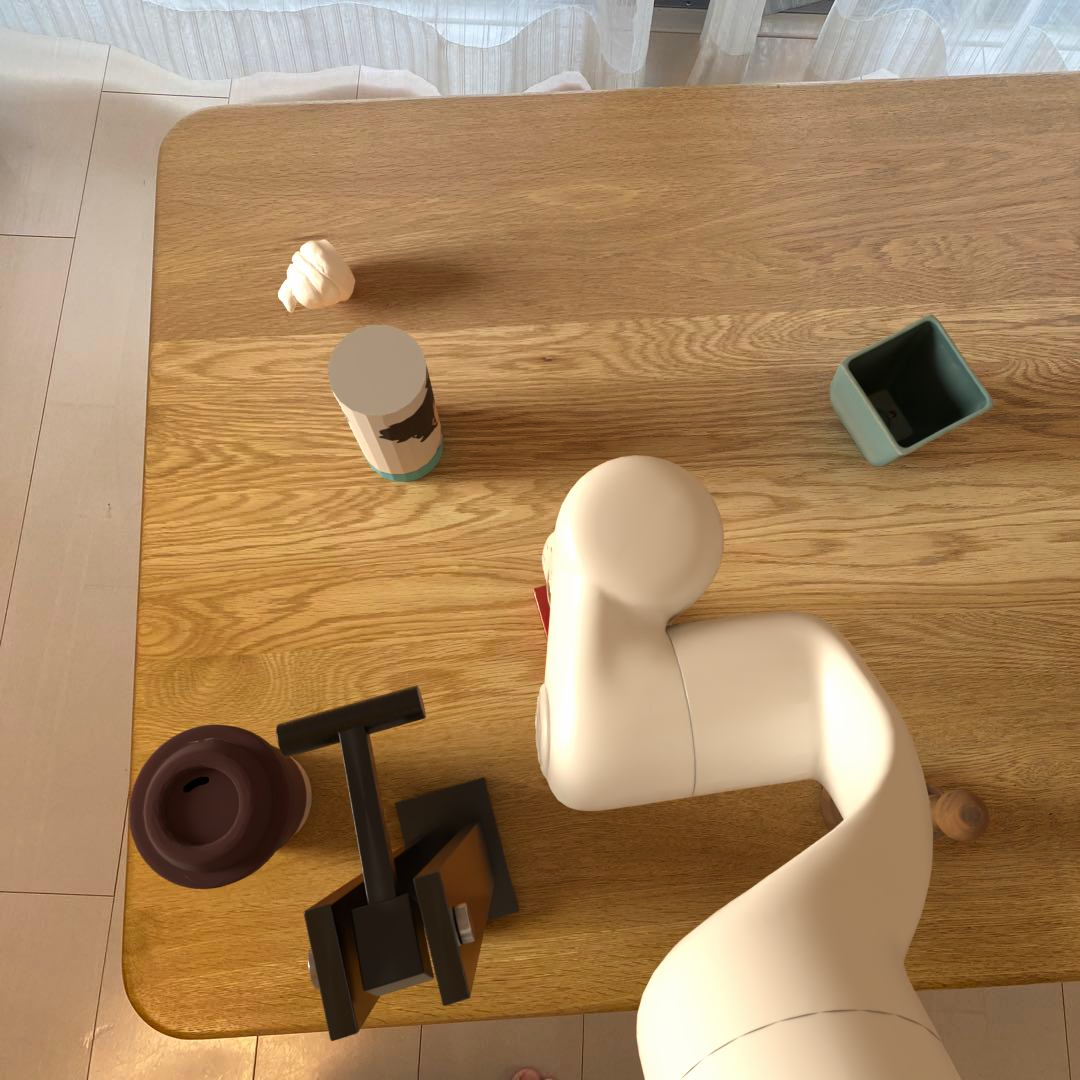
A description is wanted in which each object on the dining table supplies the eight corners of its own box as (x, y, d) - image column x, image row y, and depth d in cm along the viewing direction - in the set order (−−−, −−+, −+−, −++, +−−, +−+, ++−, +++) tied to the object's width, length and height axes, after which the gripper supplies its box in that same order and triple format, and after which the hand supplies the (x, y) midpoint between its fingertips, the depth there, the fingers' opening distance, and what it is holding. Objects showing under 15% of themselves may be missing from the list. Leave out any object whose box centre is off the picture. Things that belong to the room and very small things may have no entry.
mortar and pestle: (813, 836, 71) (908, 858, 54) (827, 752, 73) (924, 747, 55) (898, 858, 71) (1022, 887, 54) (910, 773, 73) (1035, 774, 55)
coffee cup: (315, 877, 70) (261, 905, 55) (185, 855, 70) (97, 878, 55) (342, 743, 72) (298, 737, 58) (217, 723, 72) (141, 711, 58)
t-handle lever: (287, 734, 40) (270, 715, 38) (423, 696, 41) (413, 675, 39) (327, 1012, 35) (309, 1008, 33) (483, 964, 35) (476, 957, 33)
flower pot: (859, 492, 78) (902, 457, 69) (803, 405, 80) (838, 360, 71) (946, 445, 79) (998, 405, 70) (888, 360, 81) (933, 311, 72)
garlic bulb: (271, 296, 81) (253, 263, 76) (325, 256, 82) (312, 221, 77) (309, 340, 80) (294, 310, 75) (364, 299, 81) (353, 267, 76)
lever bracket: (396, 802, 71) (258, 840, 34) (484, 776, 72) (446, 785, 34) (428, 937, 69) (319, 1139, 31) (519, 909, 70) (519, 1075, 32)
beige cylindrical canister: (460, 445, 78) (447, 372, 64) (400, 498, 77) (372, 435, 62) (407, 390, 79) (382, 305, 65) (346, 441, 78) (307, 366, 64)
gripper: (513, 475, 53) (514, 547, 71) (588, 734, 50) (570, 741, 67) (639, 441, 54) (609, 522, 71) (721, 695, 50) (668, 713, 68)
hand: (590, 628), depth 69 cm, fingers closed
